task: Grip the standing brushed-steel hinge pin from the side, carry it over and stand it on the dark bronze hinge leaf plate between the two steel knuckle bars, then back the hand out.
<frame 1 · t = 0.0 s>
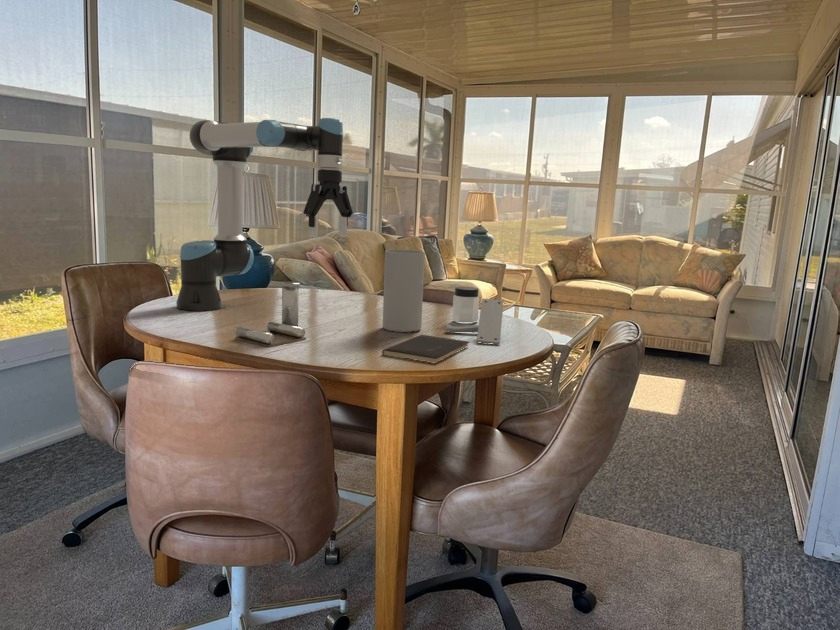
hand: (328, 237, 203), 28 cm above the table, tool pointing down, fingers open, 13 cm apart
jar: (464, 322, 221), on the table
cylinder vase: (401, 329, 204), on the table
hardcover book: (427, 353, 176), on the table
door handle: (472, 339, 196), on the table
hinge leaf: (270, 339, 181), on the table
hinge pin: (290, 327, 199), on the table
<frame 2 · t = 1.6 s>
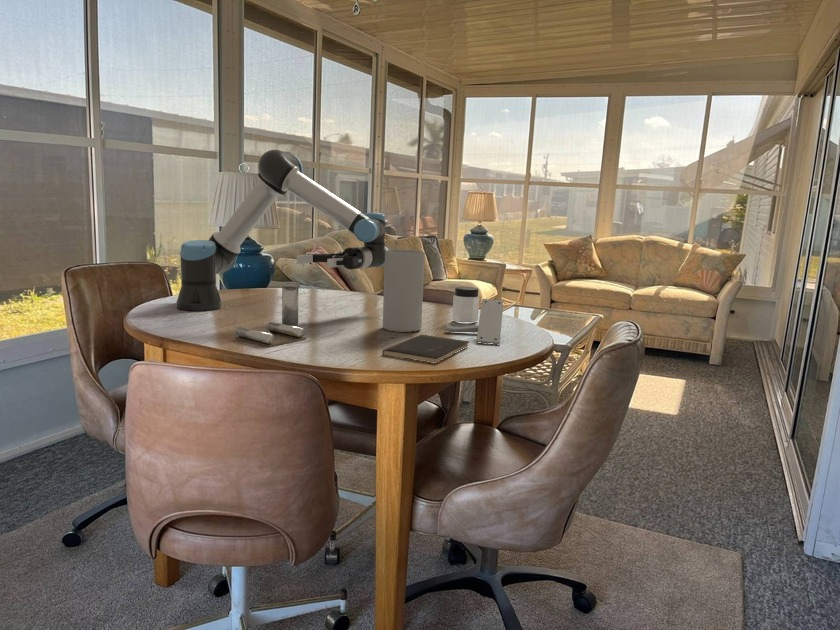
hand: (312, 261, 203), 20 cm above the table, tool horizontal, fingers open, 13 cm apart
nothing on the table moved.
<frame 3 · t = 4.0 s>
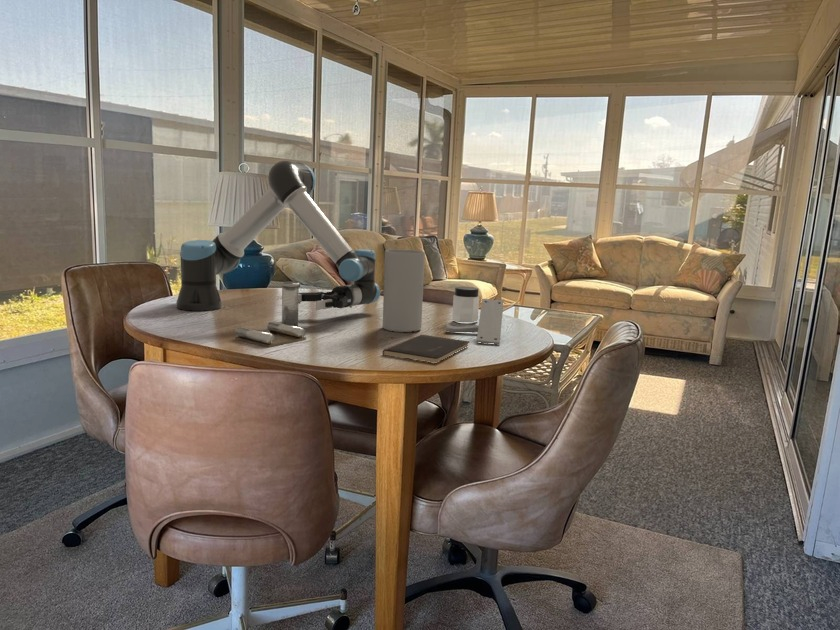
hand: (301, 302, 201), 7 cm above the table, tool horizontal, fingers open, 13 cm apart
nothing on the table moved.
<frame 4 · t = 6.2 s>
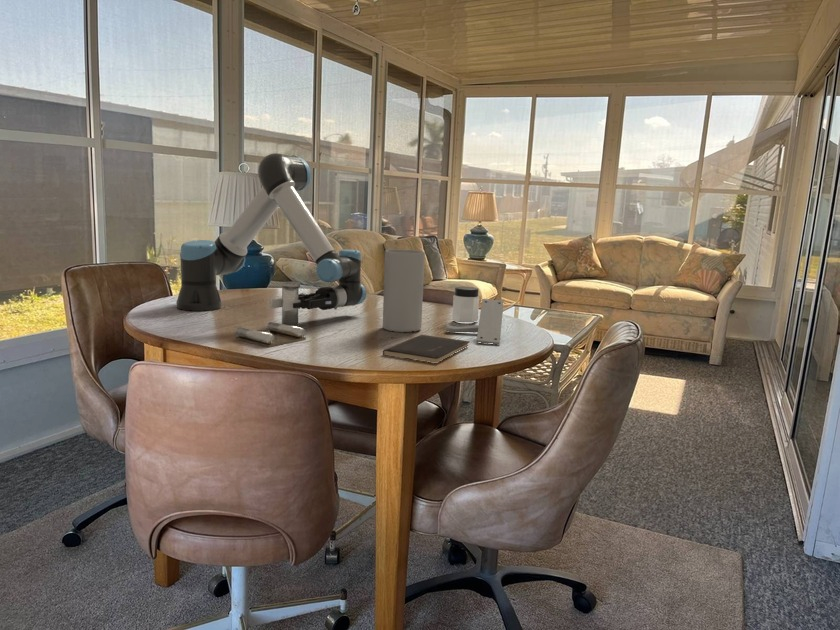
hand: (277, 305, 194), 8 cm above the table, tool horizontal, fingers closed on hinge pin, 5 cm apart
hinge pin: (290, 327, 199), on the table, touching gripper
everything else where it was.
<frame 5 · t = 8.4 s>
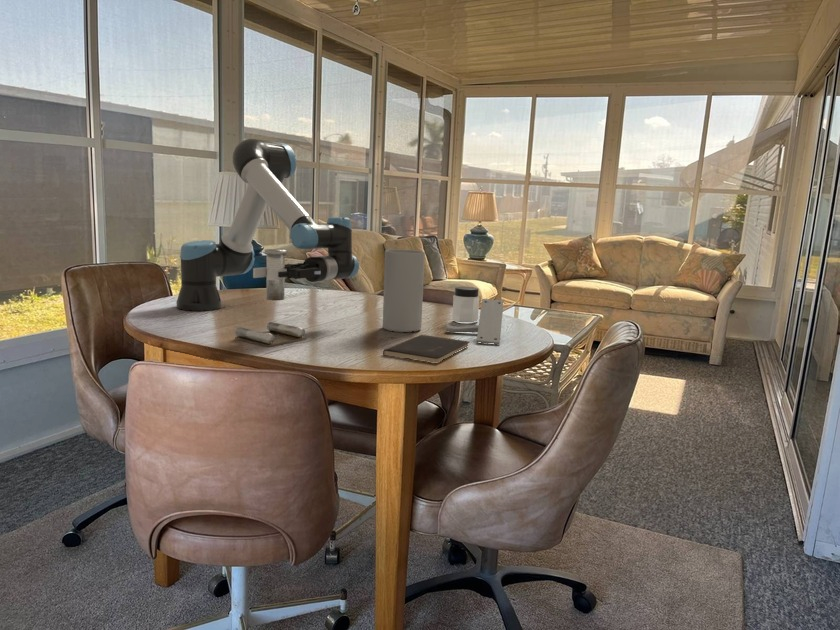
hand: (261, 274, 175), 19 cm above the table, tool horizontal, fingers closed on hinge pin, 5 cm apart
hinge pin: (275, 299, 181), point 11 cm above the table, touching gripper
everything else where it was.
when the fingers open (9 cm above the table, at t = 10.7 s): hinge pin stays where it is, resting on hinge leaf.
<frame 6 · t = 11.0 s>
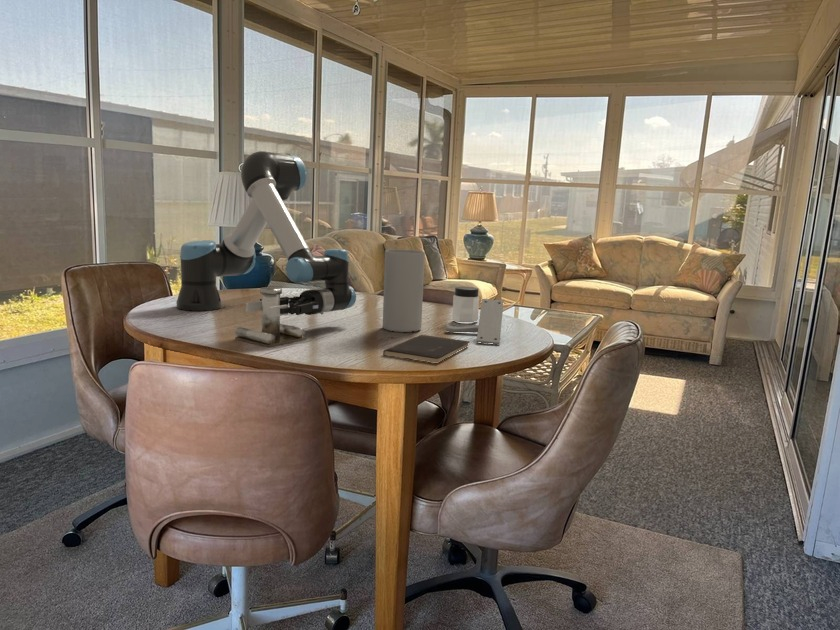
hand: (258, 309, 176), 9 cm above the table, tool horizontal, fingers open, 9 cm apart
hinge pin: (270, 337, 181), point 1 cm above the table, touching hinge leaf
everything else where it was.
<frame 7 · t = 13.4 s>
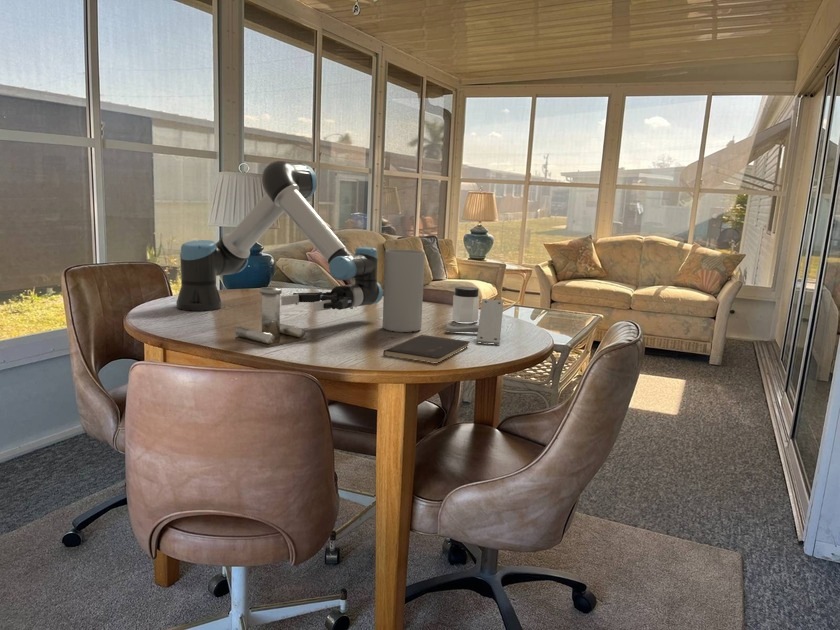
hand: (297, 303, 188), 9 cm above the table, tool horizontal, fingers open, 13 cm apart
nothing on the table moved.
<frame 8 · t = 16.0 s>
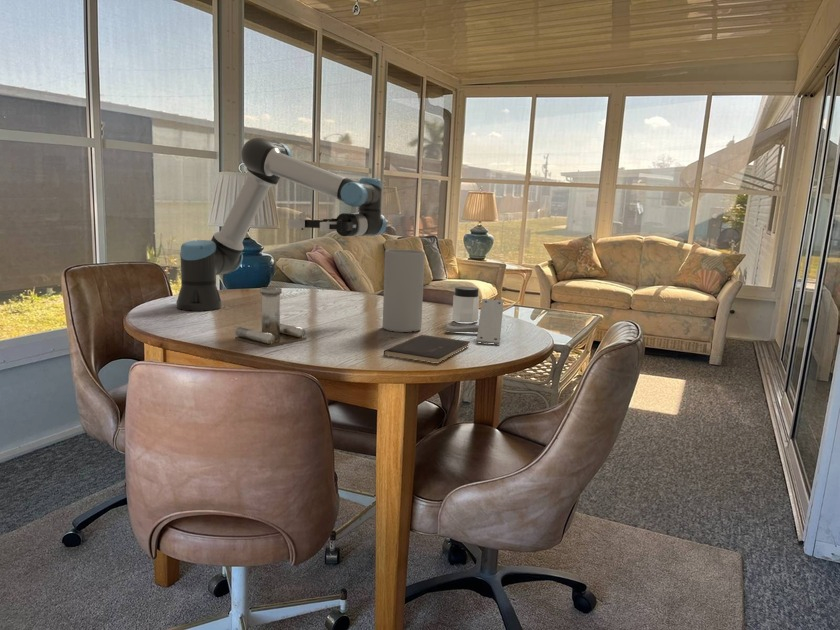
hand: (304, 225, 193), 32 cm above the table, tool horizontal, fingers open, 13 cm apart
nothing on the table moved.
at the end: hinge pin inside the target area on the hinge leaf (0.0 cm from its centre), point 0.6 cm above the hinge leaf's base; hinge pin tilted 0°; the gripper is holding nothing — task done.
